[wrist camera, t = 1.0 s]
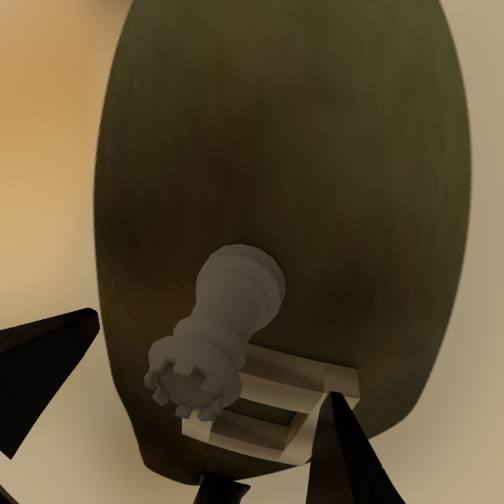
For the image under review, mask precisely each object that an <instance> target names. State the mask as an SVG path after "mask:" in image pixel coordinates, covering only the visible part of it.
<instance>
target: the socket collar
mask: <svg viewBox="0 0 504 504" xmlns="http://www.w3.org/2000/svg"><path fill="white" fill-rule="evenodd" d="M245 350H246V353H247V355H246V359H245V363H244V365H243V366H242V367H241V368H240V369H239V370H238V373H239V376H240V379H241V382H242V385H243V387H242V391H241V394H240V397H241V398H245V399H248V400H252V401H255V402H259V403H263V404H267V405H271V406H275V407H279V408H283V409H287V410H292V411H297V413H296V415H295V416H294V418H293V419H292V421H291V423H290V424H289V426H284V425H280V424H275V423H271V422H267V421H263V420H259V419H255V418H252V417H248V416H244V415H241V414H238V413H234V412H231V411H228V410H224V409H222V411H221V414H220V415H218V414H215V416H214V418H213V420H212V421H205V422H201V421H200V420H199V418H198V417H197V416H198V414H199V412H200V411H195V410H193V411H192V413H191V415H190V417H189V419H188V420H187V419H184V418H182V434H184V435H186V436H189V437H192V438H194V439H197V440H200V441H203V442H206V443H209V444H212V445H215V446H218V447H221V448H224V449H228V450H231V451H235V452H238V453H242V454H246V455H250V456H254V457H258V458H262V459H266V460H271V461H276V462H281V463H286V464H292V465H298V466H302V465H303V464H304V463H305V462H306V461H307V460H308V459H309V458H310V457H311V454H312V445H313V440H314V436H315V431H316V426H317V421H318V416H319V411H320V407H321V405H322V403H323V401H324V400H325V398H326V397H327V395H328V394H329V392H330V391H335V392H340V393H342V394H343V396H344V397H345V399H346V401H347V403H348V405H349V406H350V408H351V410H352V409H353V408H354V406H355V405H356V404H357V402H358V401H359V400H360V393H359V383H358V374H357V369H353V368H348V367H343V366H338V365H333V364H328V363H324V362H319V361H315V360H311V359H306V358H302V357H298V356H294V355H290V354H286V353H282V352H279V351H275V350H271V349H268V348H264V347H261V346H257V345H254V344H250V343H247V344H246V345H245Z"/></svg>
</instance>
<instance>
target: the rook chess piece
mask: <svg viewBox="0 0 504 504" xmlns="http://www.w3.org/2000/svg"><path fill="white" fill-rule="evenodd" d="M285 292H286V285H285V279H284V274H283V272H282V270H281V269H280V267H279V266H278V264H277V263H276V261H275V260H274V259H273V258H272V257H271V256H269V255H268V254H266V253H265V252H263V251H262V250H261V249H259V248H256V247H252V246H248V245H244V244H236V245H228V246H224V247H222V248H220V249H219V250H217V251H216V252H214V253H212V254H211V255H210V257H209V258H208V260H207V261H206V262H205V264H204V265H203V267H202V269H201V270H200V272H199V273H198V276H197V281H196V292H195V293H196V305H195V307H194V309H193V311H192V313H191V315H190V316H189V317H187V318H185V319H183V320H181V321H179V322H178V324H177V325H176V327H175V329H174V330H173V336H166V337H164V338H162V339H160V340H158V341H155V342H154V343H153V345H152V346H151V348H150V350H149V352H148V356H149V366H150V369H149V371H148V373H147V374H146V375H145V377H144V380H145V387H148V388H151V389H154V387H155V386H157V387H158V388H157V390H156V391H155V393H154V394H153V396H152V398H153V399H154V400H155V401H156V402H157V403H158V404H160V405H161V406H164V405H166V404H167V402H168V400H169V399H171V400H172V401H174V402H175V403H177V404H179V406H178V408H177V410H176V412H175V414H174V415H177V416H179V417H182V418H184V419H187V420H188V419H189V417H190V415H191V413H192V411H193V410H195V411H200V412H199V414H198V416H197V417H198V418H199V420H200V421H201V422H205V421H212V420H213V418H214V416H215V414H218V415H220V414H221V411H222V409H223V407H226V406H228V405H231V404H232V403H233V402H234V401H236V400H237V399H238V398H240V394H241V391H242V387H243V385H242V382H241V379H240V376H239V373H238V370H239V369H240V368H241V367H242V366H243V365H244V363H245V359H246V355H247V353H246V350H245V345H246V344H247V342H248V340H249V339H250V337H251V336H252V334H253V333H254V332H256V331H258V330H259V329H261V328H263V327H265V326H267V325H268V324H269V322H270V321H271V320H272V319H273V318H274V317H275V316H276V315H277V314H278V313H279V310H280V306H281V305H282V303H283V299H284V296H285Z"/></svg>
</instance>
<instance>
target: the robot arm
mask: <svg viewBox="0 0 504 504" xmlns="http://www.w3.org/2000/svg"><path fill="white" fill-rule="evenodd" d="M99 330H100V324H99V318H98V313H97V311H95V310H93V309H91V308H84V309H81V310H77V311H73V312H69V313H65V314H62V315H58V316H54V317H50V318H46V319H42V320H39V321H35V322H31V323H27V324H24V325H19V326H16V327H11V328H8V329H3V330H0V451H1V452H2V453H4V454H5V455H6V456H7V457H8V458H9V459H10V460H11V459H12V458H13V456H14V455H15V453H16V451H17V450H18V448H19V447H20V445H21V444H22V442H23V440H24V439H25V437H26V436H27V434H28V433H29V431H30V430H31V428H32V427H33V425H34V424H35V422H36V421H37V419H38V418H39V416H40V414H41V413H42V412H43V410H44V409H45V408H46V406H47V405H48V404H49V402H50V401H51V399H52V398H53V397H54V395H55V394H56V392H57V391H58V390H59V388H60V387H61V386H62V384H63V383H64V382H65V380H66V379H67V378H68V376H69V375H70V374H71V372H72V371H73V370H74V369H75V367H76V366H77V365H78V363H79V362H80V361H81V359H82V358H83V356H84V355H85V353H86V352H87V350H88V348H89V347H90V345H91V344H92V342H93V340H94V339H95V337H96V335H97V334H98V333H99ZM199 486H200V488H199V490H198V493H197V495H196V498H195V501H194V502H193V504H240V501H241V498H242V497H243V496H244V495H245V494H246V493H247V491H248V490H249V489H250V487H251V486H249V485H247V484H242V483H238V482H235V481H231V480H227V479H224V478H220V477H217V476H214V475H211V474H207V473H204V472H202V473H201V475H200V480H199ZM0 504H19V503H18V502H17V501H16V500H15V499H14V498H13V497H12V496H10V494H9V493H8V492H7V491H6V490H5V489H4V488H3V487H2V486H1V485H0ZM306 504H406V503H405V502H404V501H403V499H402V498H401V496H400V495H399V493H398V492H397V490H396V489H395V487H394V486H393V484H392V482H391V481H390V479H389V477H388V476H387V474H386V472H385V470H384V469H383V468H382V465H381V463H380V461H379V459H378V457H377V455H376V454H375V452H374V450H373V448H372V446H371V444H370V443H369V441H368V439H367V437H366V435H365V434H364V432H363V430H362V428H361V426H360V424H359V423H358V421H357V419H356V417H355V415H354V414H353V412H352V410H351V408H350V406H349V405H348V403H347V401H346V399H345V397H344V396H343V394H342V393H340V392H335V391H330V392H329V394H328V395H327V397H326V398H325V400H324V401H323V403H322V405H321V407H320V411H319V416H318V421H317V426H316V431H315V436H314V440H313V445H312V454H311V464H310V473H309V482H308V490H307V497H306Z"/></svg>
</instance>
